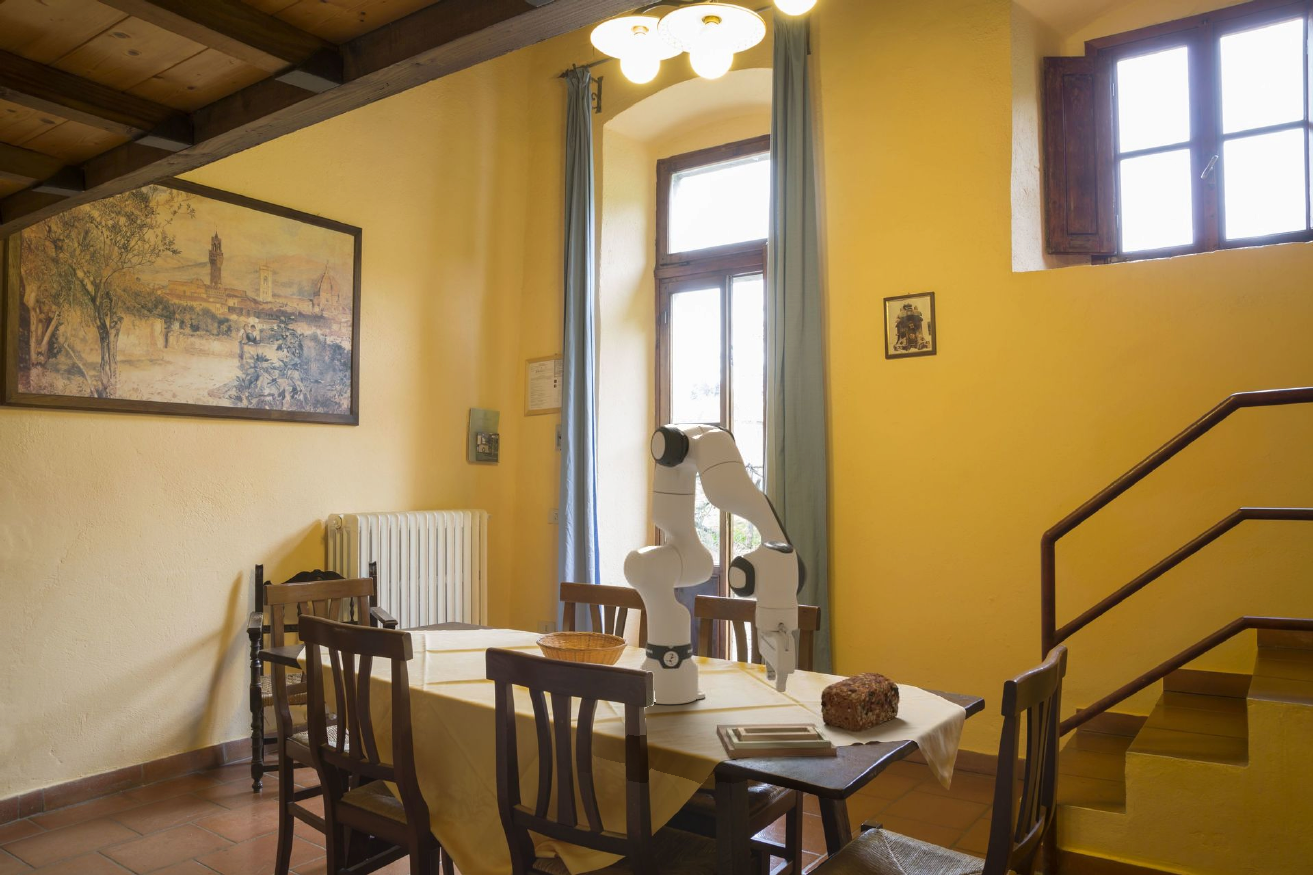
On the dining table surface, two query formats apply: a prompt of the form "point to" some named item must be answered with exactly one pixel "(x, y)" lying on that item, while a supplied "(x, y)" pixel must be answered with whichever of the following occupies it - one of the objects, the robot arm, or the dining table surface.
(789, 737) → the frame
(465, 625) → the dining table surface
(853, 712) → the bread
